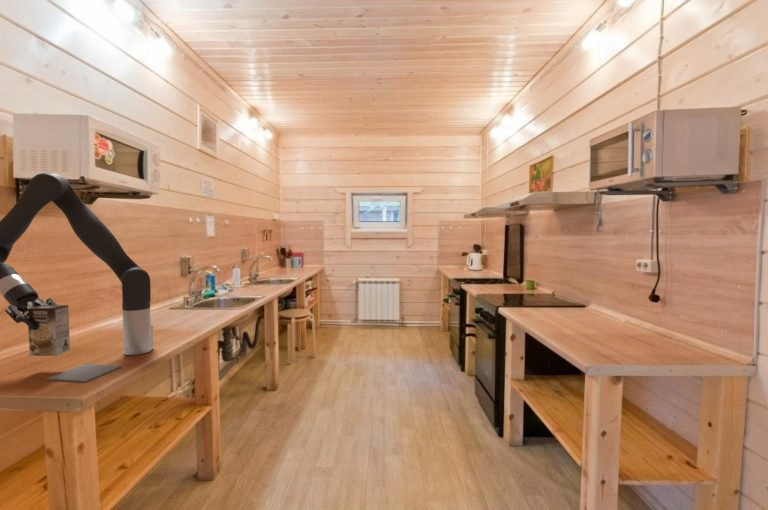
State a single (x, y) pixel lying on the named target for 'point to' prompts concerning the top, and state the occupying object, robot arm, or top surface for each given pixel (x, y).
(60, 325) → the coffee box
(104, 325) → the top surface
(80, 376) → the mat
